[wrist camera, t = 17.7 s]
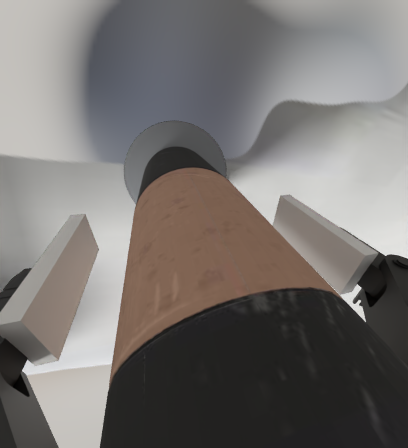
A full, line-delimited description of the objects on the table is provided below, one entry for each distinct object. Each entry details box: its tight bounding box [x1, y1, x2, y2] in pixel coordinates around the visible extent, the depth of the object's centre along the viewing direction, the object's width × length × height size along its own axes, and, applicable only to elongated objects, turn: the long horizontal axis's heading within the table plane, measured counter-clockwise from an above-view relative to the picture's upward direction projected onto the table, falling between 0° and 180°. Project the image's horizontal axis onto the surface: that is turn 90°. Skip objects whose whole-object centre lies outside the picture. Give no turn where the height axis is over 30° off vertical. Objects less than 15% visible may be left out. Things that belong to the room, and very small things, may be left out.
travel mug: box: [100, 147, 408, 448], centre depth 12 cm, size 8×8×20 cm
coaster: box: [124, 121, 226, 203], centre depth 20 cm, size 11×11×1 cm
